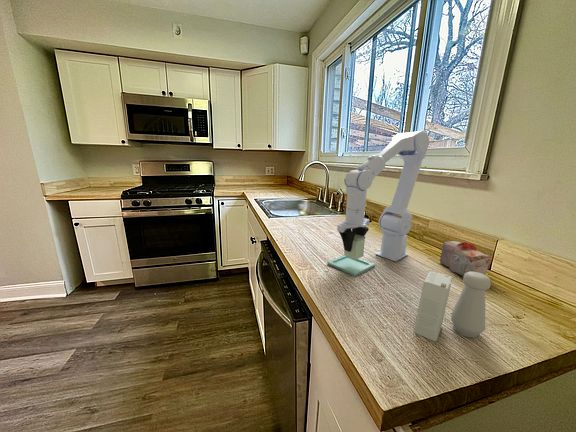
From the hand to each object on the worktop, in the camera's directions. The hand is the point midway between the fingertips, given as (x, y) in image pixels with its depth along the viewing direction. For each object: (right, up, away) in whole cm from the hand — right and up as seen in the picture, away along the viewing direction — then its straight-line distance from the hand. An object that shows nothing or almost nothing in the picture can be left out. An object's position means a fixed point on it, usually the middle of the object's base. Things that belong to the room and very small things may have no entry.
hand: (352, 249), depth 78 cm
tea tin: (+1, -2, 0) cm, 2 cm away
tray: (0, -6, +1) cm, 6 cm away
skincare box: (+8, -13, -28) cm, 32 cm away
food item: (+35, -7, -1) cm, 36 cm away
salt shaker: (+16, -13, -28) cm, 35 cm away
